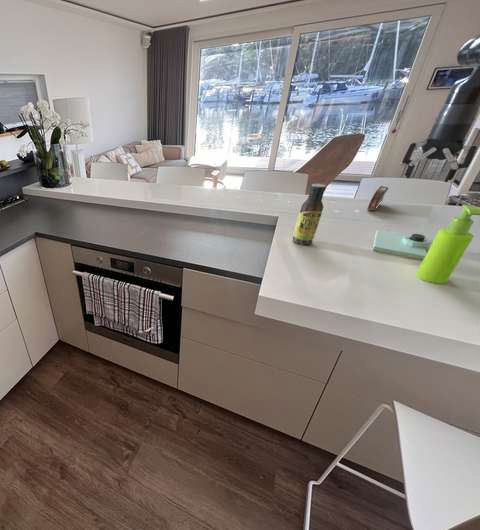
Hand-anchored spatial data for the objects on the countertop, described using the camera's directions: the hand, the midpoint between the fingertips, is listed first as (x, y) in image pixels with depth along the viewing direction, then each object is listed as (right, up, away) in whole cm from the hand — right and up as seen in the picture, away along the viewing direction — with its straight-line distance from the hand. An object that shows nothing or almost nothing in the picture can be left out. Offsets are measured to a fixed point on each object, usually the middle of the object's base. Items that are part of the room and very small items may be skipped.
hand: (426, 179), depth 89 cm
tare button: (-2, -19, +1) cm, 19 cm away
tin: (+12, -3, +32) cm, 34 cm away
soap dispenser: (-12, -30, -12) cm, 35 cm away
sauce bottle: (-32, -19, +11) cm, 38 cm away
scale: (-5, -20, +4) cm, 21 cm away
